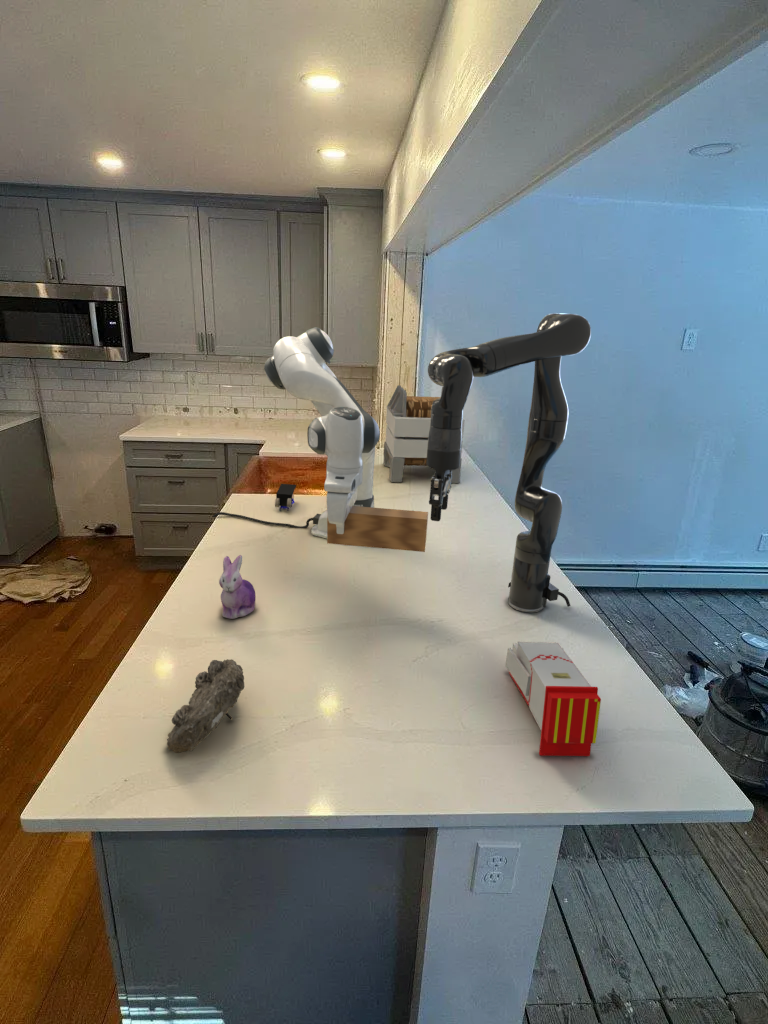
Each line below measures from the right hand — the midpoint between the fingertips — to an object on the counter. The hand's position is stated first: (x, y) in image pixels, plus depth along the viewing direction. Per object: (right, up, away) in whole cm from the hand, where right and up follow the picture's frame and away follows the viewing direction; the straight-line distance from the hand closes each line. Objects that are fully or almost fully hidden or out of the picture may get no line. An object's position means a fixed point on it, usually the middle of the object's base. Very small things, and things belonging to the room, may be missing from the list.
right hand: (438, 514), depth 132 cm
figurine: (-50, -25, +14) cm, 58 cm away
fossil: (-46, -39, -24) cm, 64 cm away
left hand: (-23, -4, +11) cm, 26 cm away
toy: (+19, -39, -17) cm, 47 cm away
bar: (-15, -7, +12) cm, 20 cm away
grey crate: (+4, +19, +143) cm, 145 cm away
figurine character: (-51, +2, +89) cm, 103 cm away
